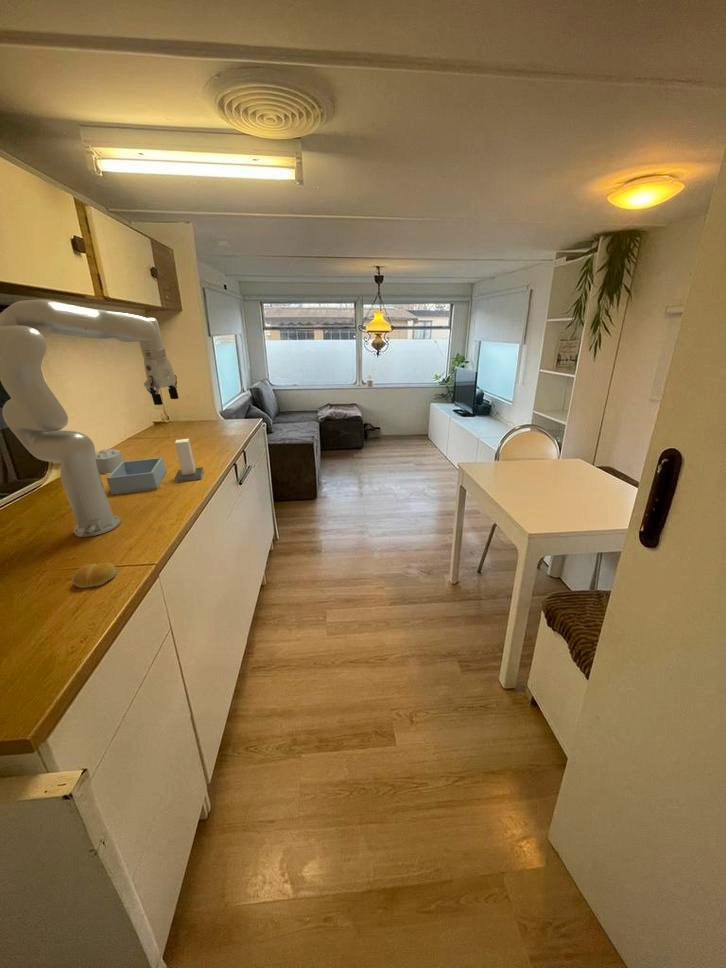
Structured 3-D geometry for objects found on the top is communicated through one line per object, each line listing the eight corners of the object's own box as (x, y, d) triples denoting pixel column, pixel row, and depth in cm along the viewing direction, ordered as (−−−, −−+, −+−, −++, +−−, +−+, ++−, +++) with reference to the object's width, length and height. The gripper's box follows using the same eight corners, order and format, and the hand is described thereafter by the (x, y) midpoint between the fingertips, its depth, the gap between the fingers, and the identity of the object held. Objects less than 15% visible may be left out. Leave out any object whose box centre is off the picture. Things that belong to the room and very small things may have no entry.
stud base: (201, 479, 157) (198, 463, 154) (175, 482, 154) (171, 466, 151) (203, 471, 165) (200, 456, 163) (179, 474, 163) (175, 459, 160)
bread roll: (109, 586, 92) (104, 572, 91) (69, 591, 91) (63, 578, 89) (123, 567, 100) (118, 554, 98) (86, 571, 98) (81, 558, 97)
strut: (194, 473, 157) (187, 441, 152) (182, 475, 156) (174, 442, 151) (195, 469, 162) (189, 438, 156) (183, 471, 161) (176, 439, 155)
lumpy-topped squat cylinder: (125, 463, 179) (120, 446, 176) (121, 472, 168) (116, 453, 165) (100, 466, 176) (94, 449, 172) (94, 475, 165) (88, 457, 161)
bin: (157, 489, 148) (152, 472, 145) (111, 495, 144) (106, 478, 141) (166, 472, 166) (162, 457, 163) (126, 477, 162) (121, 461, 159)
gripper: (147, 357, 128) (161, 407, 135) (178, 351, 143) (188, 396, 150) (128, 358, 129) (142, 407, 136) (160, 352, 144) (172, 396, 152)
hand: (166, 401), depth 143 cm, fingers open, 9 cm apart
